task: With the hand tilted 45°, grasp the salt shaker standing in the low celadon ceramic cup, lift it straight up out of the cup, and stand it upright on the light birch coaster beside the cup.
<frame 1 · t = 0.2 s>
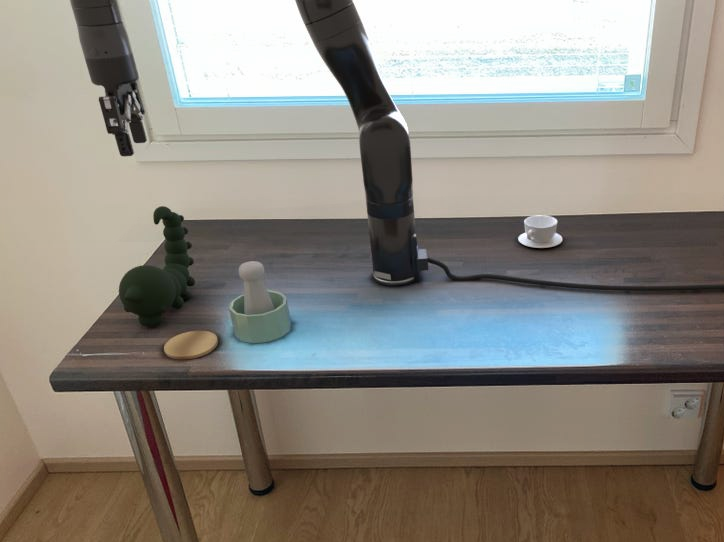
hand: (134, 148, 133), 29 cm above the table, tool pointing down, fingers open, 8 cm apart
toy figurine: (167, 309, 143), on the table
teacup: (540, 241, 168), on the table
coaster: (191, 346, 131), on the table
cup: (263, 329, 135), on the table
salt shaker: (263, 330, 135), resting in cup
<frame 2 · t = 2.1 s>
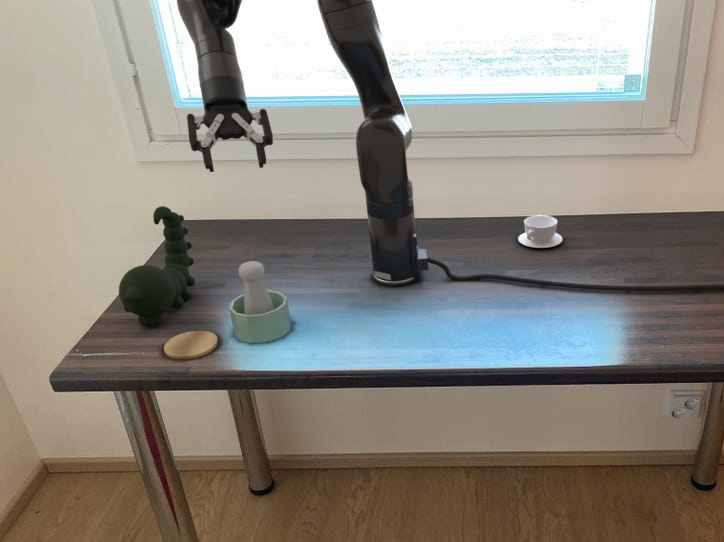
hand: (236, 168, 132), 26 cm above the table, tool tilted 40°, fingers open, 8 cm apart
nothing on the table moved.
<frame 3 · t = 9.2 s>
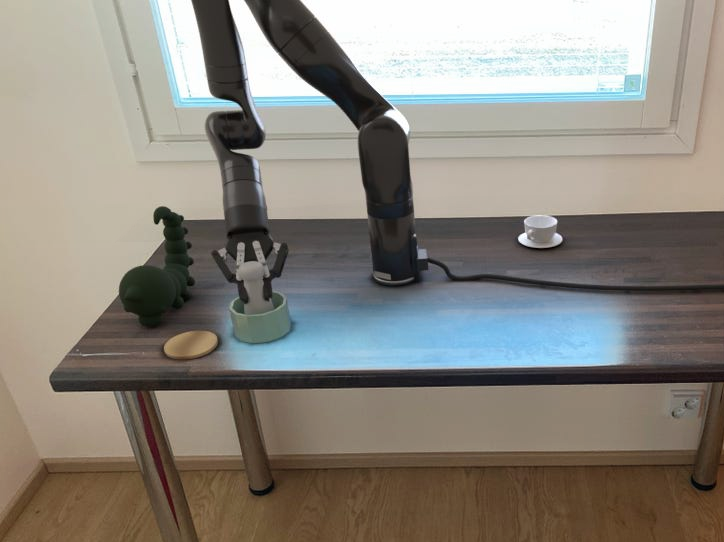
hand: (256, 301, 131), 7 cm above the table, tool tilted 45°, fingers closed on salt shaker, 3 cm apart
salt shaker: (263, 330, 135), resting in cup, touching gripper
everything else where it was.
when the fingers open (7 cm above the table, at t = 18.1 s): salt shaker stays where it is, resting on coaster.
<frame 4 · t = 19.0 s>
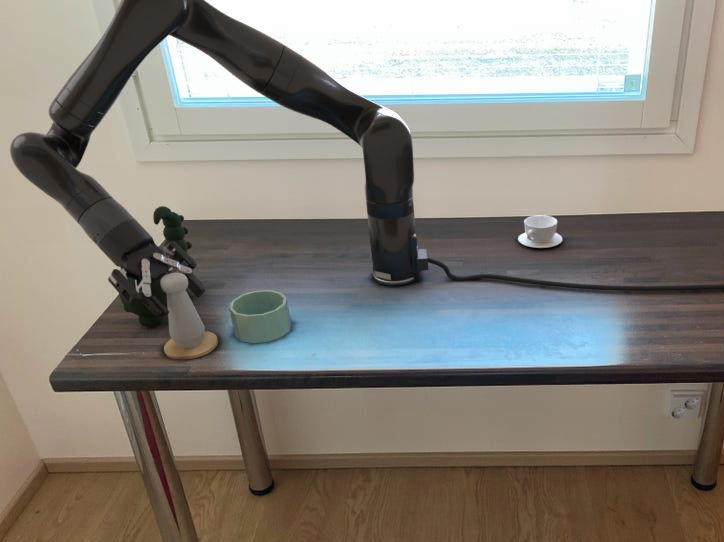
hand: (184, 304, 126), 8 cm above the table, tool tilted 45°, fingers open, 8 cm apart
salt shaker: (190, 343, 131), resting on coaster
everything else where it was.
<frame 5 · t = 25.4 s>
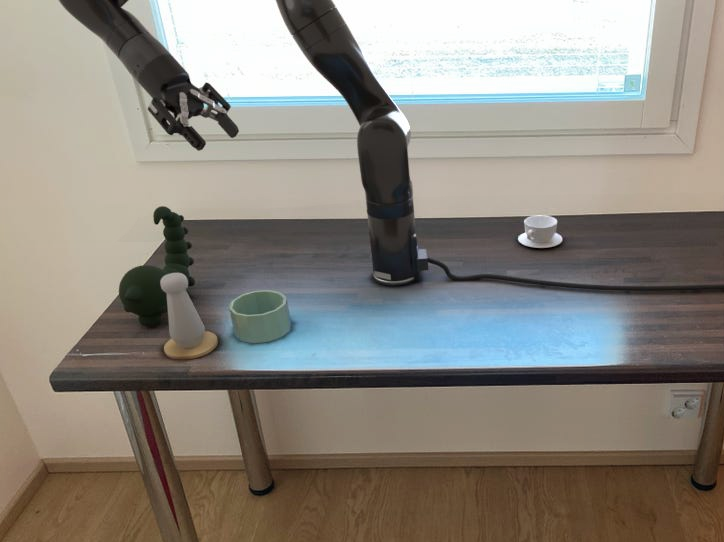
hand: (219, 140, 131), 31 cm above the table, tool tilted 45°, fingers open, 8 cm apart
nothing on the table moved.
at the end: salt shaker 0.2 cm off-centre on the coaster, point 0.4 cm above the coaster's base; salt shaker tilted 0°; the gripper is holding nothing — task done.
